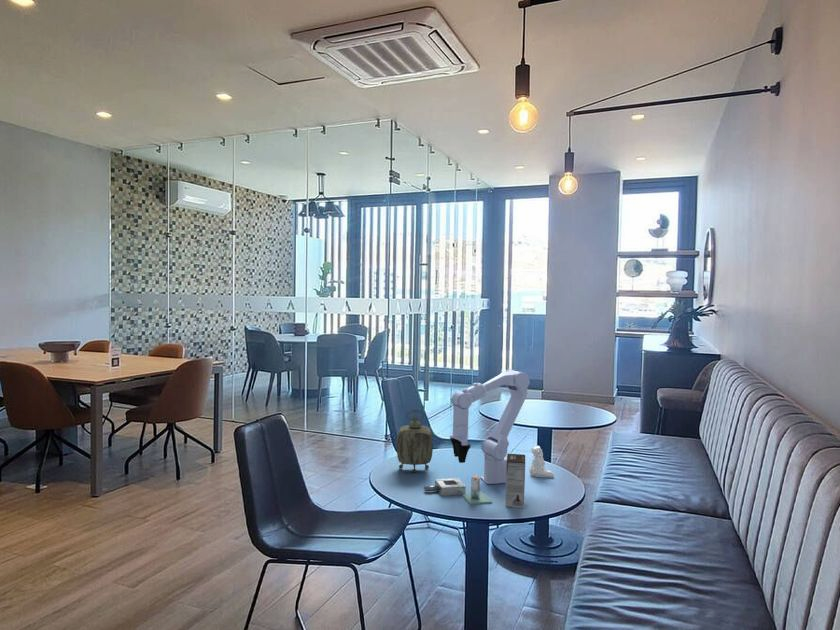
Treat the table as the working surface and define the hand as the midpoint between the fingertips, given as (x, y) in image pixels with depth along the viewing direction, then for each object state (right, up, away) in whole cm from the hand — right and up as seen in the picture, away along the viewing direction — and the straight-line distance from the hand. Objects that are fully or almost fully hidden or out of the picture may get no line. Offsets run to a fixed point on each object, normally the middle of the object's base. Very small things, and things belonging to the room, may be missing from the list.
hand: (459, 459), depth 205 cm
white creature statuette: (+33, -11, +15) cm, 38 cm away
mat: (+5, -11, -14) cm, 18 cm away
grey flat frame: (-6, -10, -6) cm, 13 cm away
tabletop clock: (-17, -9, +16) cm, 25 cm away
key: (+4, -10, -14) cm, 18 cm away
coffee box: (+18, -11, -16) cm, 26 cm away
